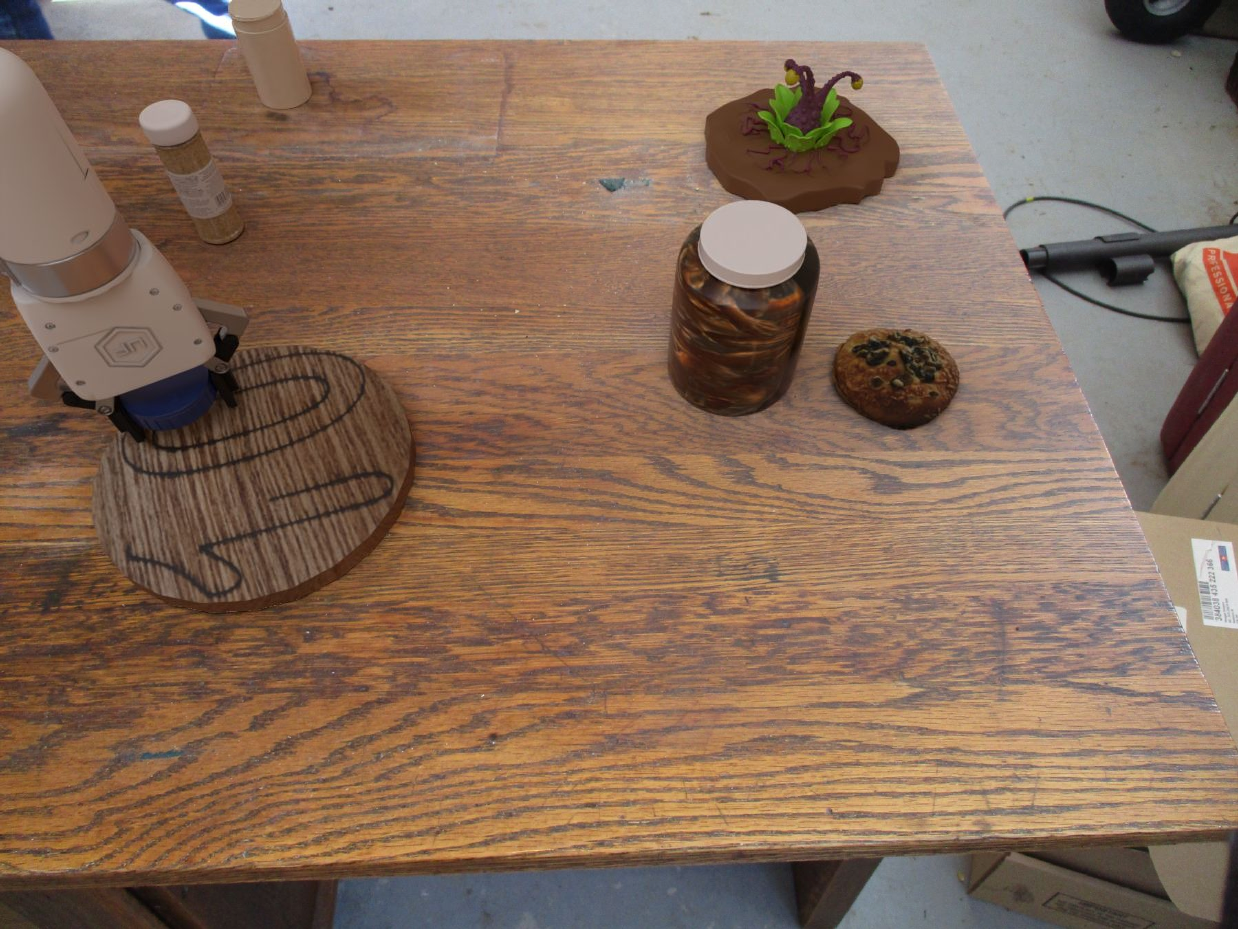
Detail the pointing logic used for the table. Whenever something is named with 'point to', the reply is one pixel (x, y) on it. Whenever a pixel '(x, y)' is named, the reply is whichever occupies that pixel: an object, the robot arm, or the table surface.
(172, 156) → the spice bottle
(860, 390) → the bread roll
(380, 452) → the trivet
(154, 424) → the lid
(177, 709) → the table surface
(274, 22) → the beige cylindrical container
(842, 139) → the plant
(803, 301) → the jar
